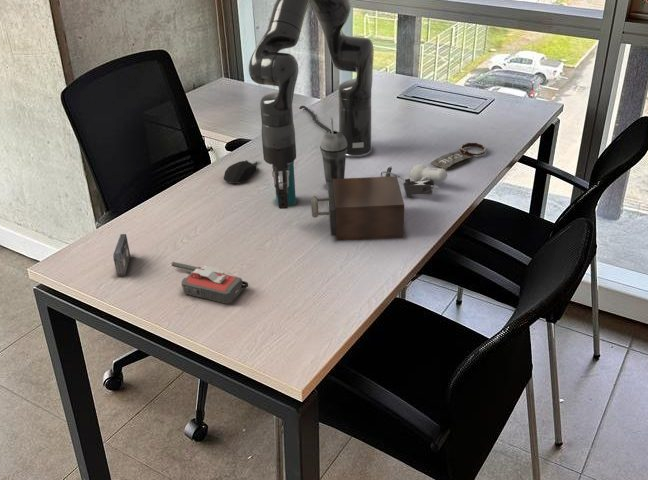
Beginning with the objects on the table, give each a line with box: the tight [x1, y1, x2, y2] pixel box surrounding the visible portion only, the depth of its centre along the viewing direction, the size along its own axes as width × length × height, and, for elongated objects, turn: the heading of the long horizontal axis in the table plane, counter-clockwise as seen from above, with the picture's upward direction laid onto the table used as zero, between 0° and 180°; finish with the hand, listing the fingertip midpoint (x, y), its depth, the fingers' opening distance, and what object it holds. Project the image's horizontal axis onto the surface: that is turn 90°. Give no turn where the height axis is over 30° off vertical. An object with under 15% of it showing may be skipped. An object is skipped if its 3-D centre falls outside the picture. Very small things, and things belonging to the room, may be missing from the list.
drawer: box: [310, 184, 336, 237], centre depth 175 cm, size 19×14×7 cm
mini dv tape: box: [112, 233, 131, 277], centre depth 162 cm, size 8×2×6 cm, turn 4°
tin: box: [274, 160, 297, 207], centre depth 185 cm, size 5×5×12 cm
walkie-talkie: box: [171, 261, 249, 305], centre depth 155 cm, size 9×4×20 cm
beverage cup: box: [319, 116, 348, 189], centre depth 189 cm, size 7×7×20 cm
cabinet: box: [333, 175, 405, 241], centre depth 175 cm, size 16×15×9 cm
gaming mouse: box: [223, 159, 258, 184], centre depth 202 cm, size 6×15×4 cm, turn 155°
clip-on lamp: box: [380, 163, 448, 198], centre depth 192 cm, size 12×6×18 cm
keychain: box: [430, 141, 487, 170], centre depth 207 cm, size 8×19×2 cm, turn 131°
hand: (283, 207), depth 174 cm, fingers closed
